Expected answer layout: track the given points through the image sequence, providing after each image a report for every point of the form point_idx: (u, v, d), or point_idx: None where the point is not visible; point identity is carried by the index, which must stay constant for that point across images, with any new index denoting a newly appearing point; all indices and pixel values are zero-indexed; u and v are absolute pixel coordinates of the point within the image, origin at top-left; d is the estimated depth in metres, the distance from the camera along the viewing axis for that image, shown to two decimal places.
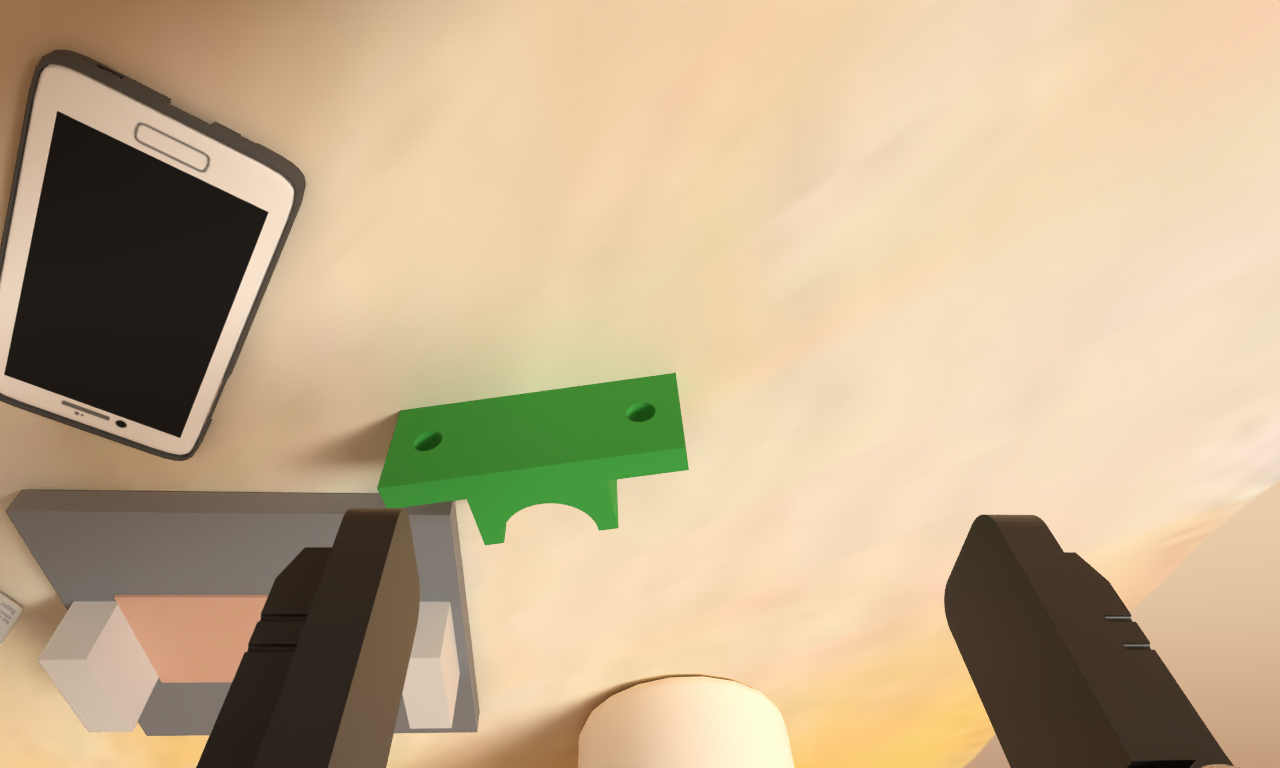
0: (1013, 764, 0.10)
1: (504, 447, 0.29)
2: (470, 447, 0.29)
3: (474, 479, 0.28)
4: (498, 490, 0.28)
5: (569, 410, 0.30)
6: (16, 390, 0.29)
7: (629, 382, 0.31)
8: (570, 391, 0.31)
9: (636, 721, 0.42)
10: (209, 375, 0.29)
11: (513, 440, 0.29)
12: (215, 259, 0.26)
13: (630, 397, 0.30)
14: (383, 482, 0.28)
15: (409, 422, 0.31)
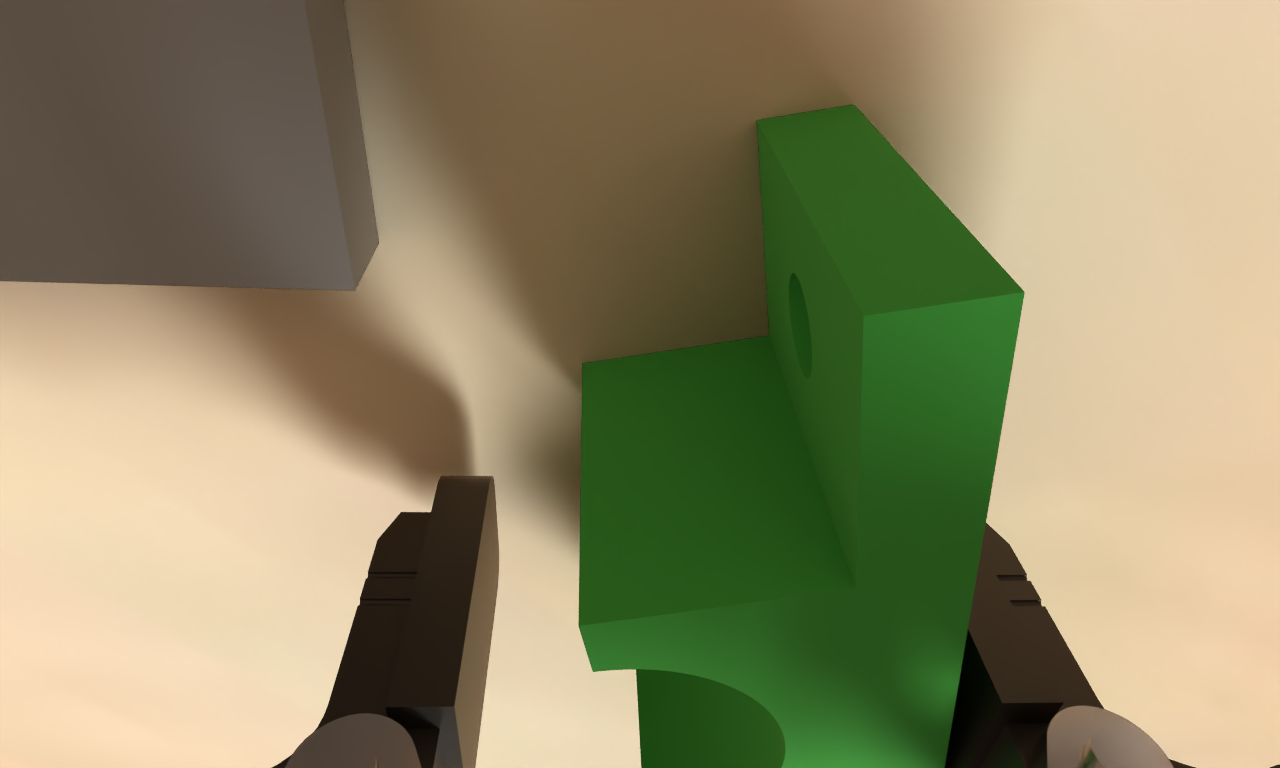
0: None
1: None
2: None
3: (952, 612, 0.07)
4: (876, 663, 0.08)
5: None
6: None
7: None
8: None
9: None
10: None
11: None
12: None
13: None
14: None
15: None
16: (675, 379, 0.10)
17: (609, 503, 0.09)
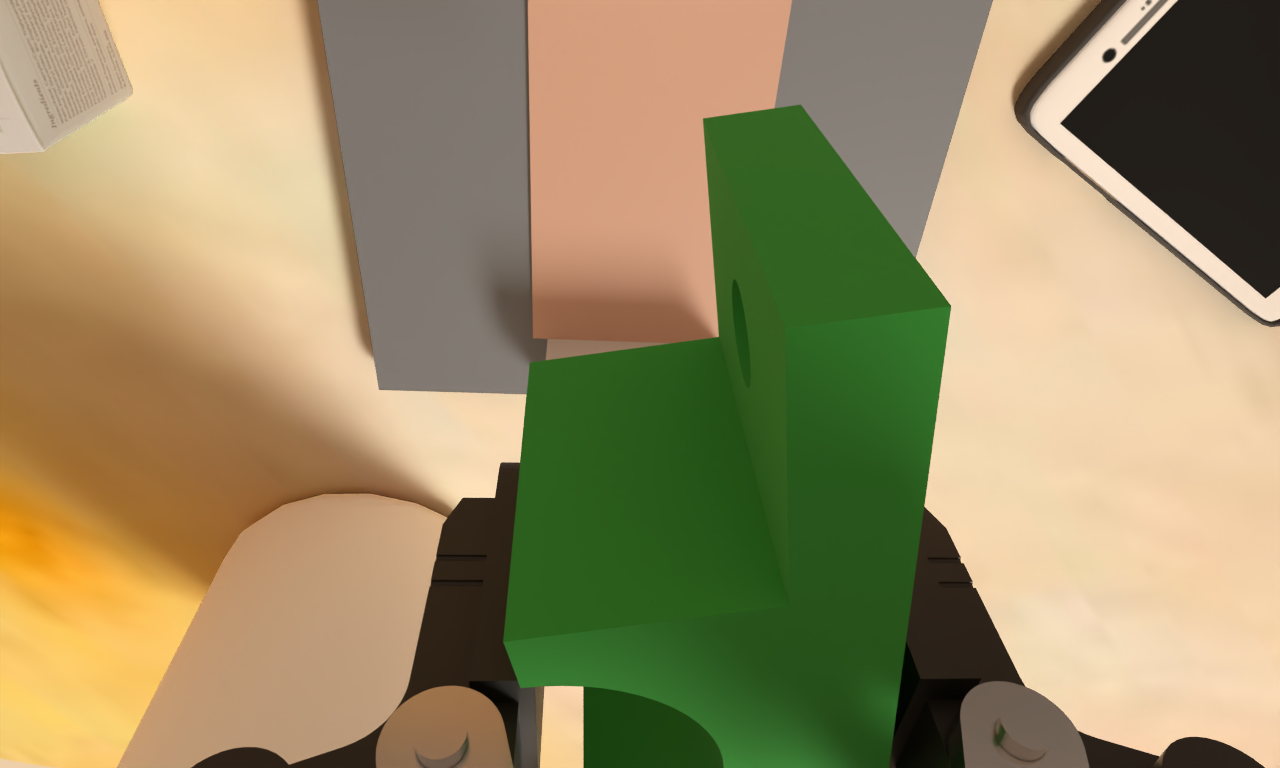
0: None
1: None
2: None
3: (888, 629, 0.07)
4: (812, 682, 0.08)
5: None
6: None
7: None
8: None
9: None
10: (1130, 190, 0.25)
11: None
12: (1249, 241, 0.27)
13: None
14: None
15: None
16: (622, 385, 0.10)
17: (544, 512, 0.08)
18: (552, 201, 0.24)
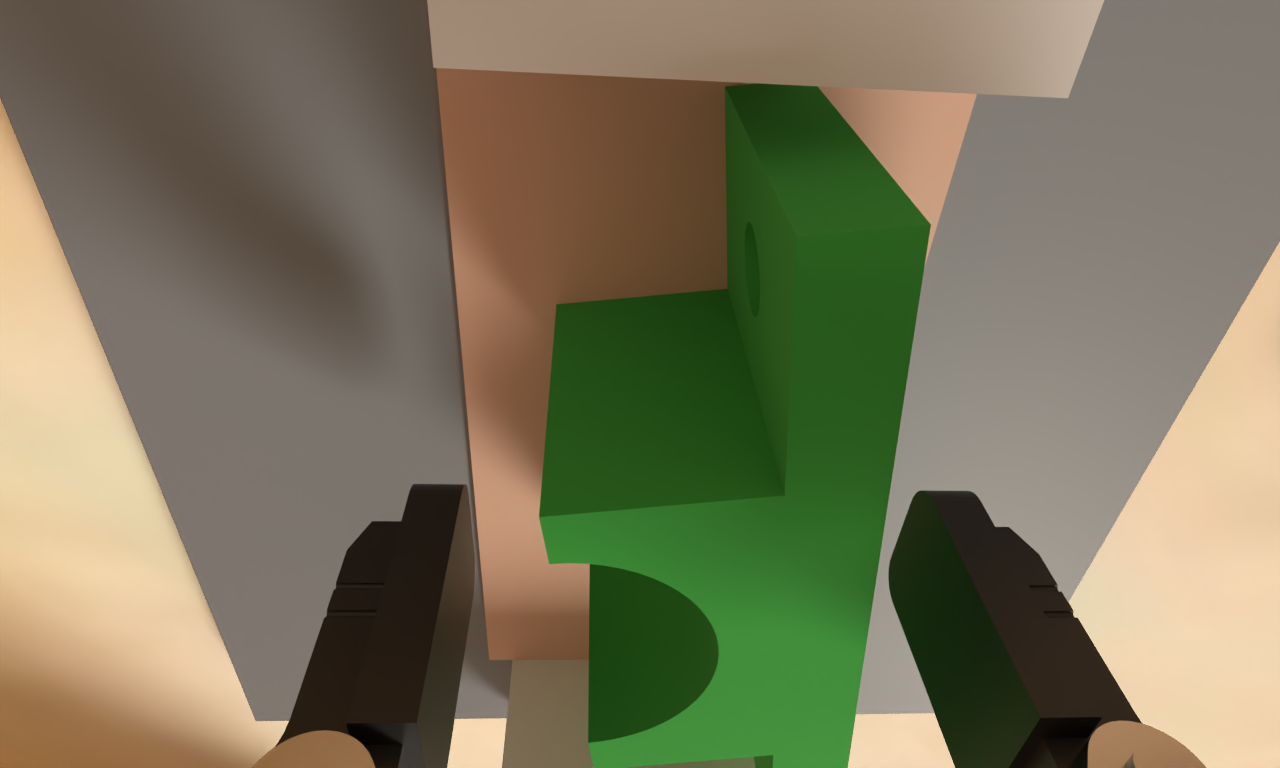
0: (944, 730, 0.10)
1: None
2: None
3: (868, 524, 0.09)
4: (800, 572, 0.09)
5: None
6: None
7: None
8: None
9: None
10: None
11: None
12: None
13: None
14: None
15: None
16: (640, 324, 0.11)
17: (572, 422, 0.09)
18: (511, 493, 0.14)
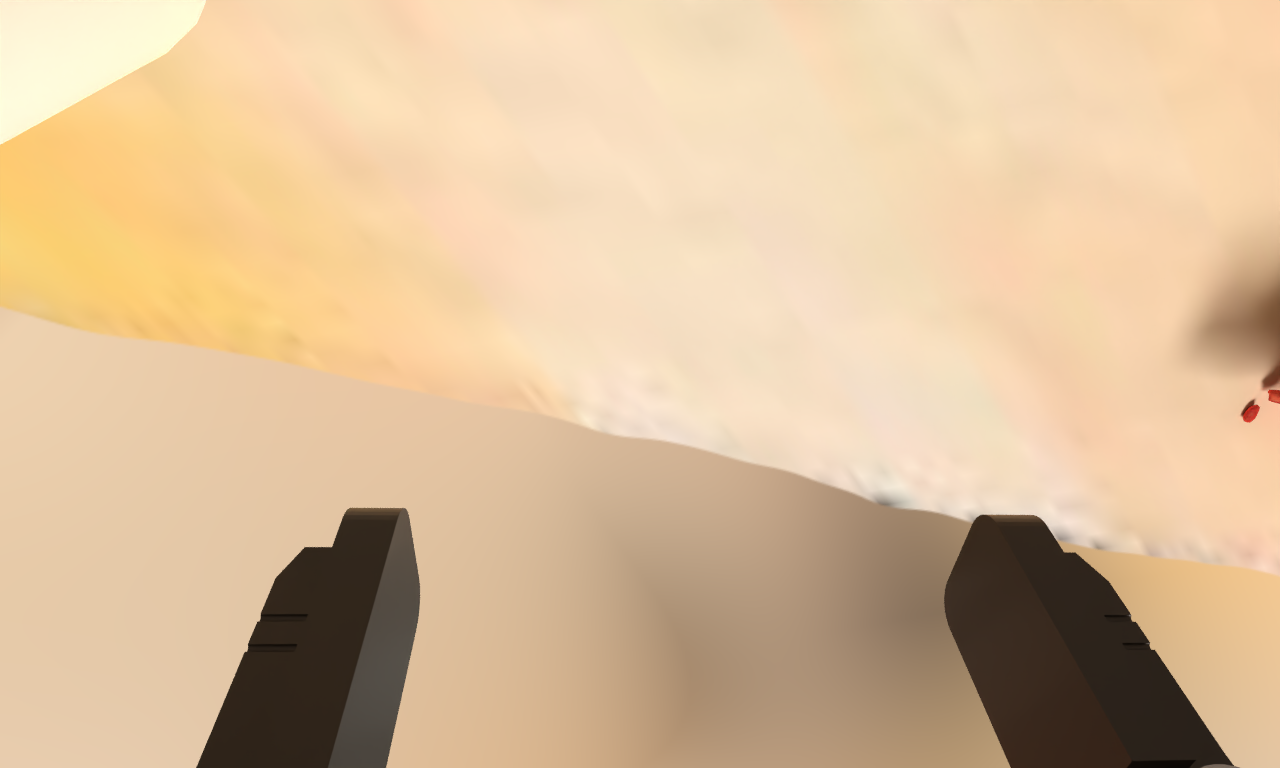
0: (1013, 764, 0.10)
1: None
2: None
3: None
4: None
5: None
6: None
7: None
8: None
9: None
10: None
11: None
12: None
13: None
14: None
15: None
16: None
17: None
18: None
